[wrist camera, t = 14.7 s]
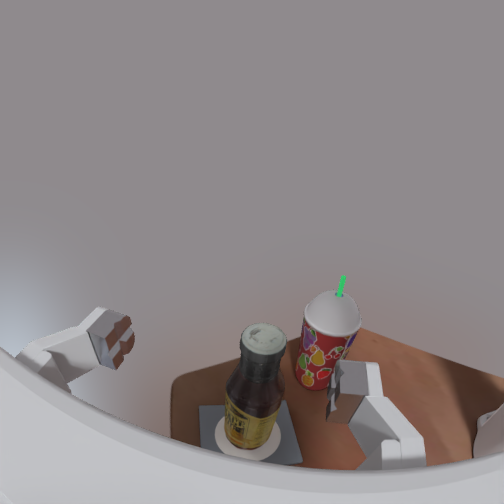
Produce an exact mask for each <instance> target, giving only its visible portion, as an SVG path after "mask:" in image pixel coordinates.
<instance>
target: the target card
mask: <svg viewBox="0 0 504 504" xmlns="http://www.w3.org/2000/svg"><path fill="white" fill-rule="evenodd" d="M199 420H200V441H201V448H204V449H208V450H211V451H215V452H219V453H223V454H227V455H231V456H236V457H240V458H245V459H250V460H255V461H261V462H267V463H273V464H280V465H292V464H298V463H302V462H303V459H302V456H301V452H300V449H299V445H298V442H297V438H296V435H295V431H294V428H293V424H292V421H291V417H290V414H289V410H288V407H287V403H286V400H283V401H282V402H281V406H280V409H279V412H278V415H277V417H276V420H275V423H274V426H273V429H272V432H271V435H270V437H269V439H268V440H267V442H265V443H264V444H263V445H262V446H261V447H259V448H257V449H255V450H243V449H239V448H236V447H235V446H234V445H232V444H231V443H230V442H229V440H228V439H227V437H226V434H225V430H224V421H225V405H208V406H199Z"/></svg>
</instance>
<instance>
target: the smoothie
mask: <svg viewBox="0 0 504 504" xmlns="http://www.w3.org/2000/svg"><path fill="white" fill-rule="evenodd" d="M345 279H346V276H341V280H340V284H339V288H338V290H329V291H325V292H323V293H321V294H319V295H318V296H316V297H315V298H314V299H313V300H312V301H311V302H310V303H309V304H308V305H307V306H306V307H305V310H304V319H303V326H302V333H301V339H300V345H299V352H298V358H297V364H296V370H295V372H296V376H297V378H298V381H299V383H300V384H301V385H302V386H303V387H305V388H307V389H310V390H321V389H324V388H326V387H328V385H329V380H330V378H331V375H332V374H333V373H335V365H336V362H337V360H338V359H340V360H345V358H346V356H347V354H348V352H349V350H350V347H351V345H352V343H353V341H354V339H355V337H356V335H357V332H358V330H359V328H360V326H361V322H362V318H361V316H360V312H359V309H358V306H357V304H356V302H355V300H354V299H353V298H352V297H351V296H350V295H348V294H347V293H345V292H343V287H344V283H345Z"/></svg>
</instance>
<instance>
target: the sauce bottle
mask: <svg viewBox="0 0 504 504" xmlns="http://www.w3.org/2000/svg"><path fill="white" fill-rule="evenodd" d="M286 344H287V339H286V335H285V334H284V333H283V332H282V330H281V329H280V328H278V327H276V326H274V325H271V324H268V323H256V324H253V325H250V326H248V327H247V328H246V329H245V330H244V331H243V333H242V335H241V340H240V349H241V359H240V362H239V364H238V366H237V367H236V369H235V370H234V372H233V373H232V375H231V376H230V378H229V379H228V381H227V383H226V389H225V390H226V394H225V421H224V430H225V434H226V437H227V439H228V440H229V442H230V443H231V444H232V445H234V446H235V447H236V448H239V449H243V450H255V449H257V448H259V447H261V446H262V445H263V444H264V443H265V442H267V440H268V439H269V437H270V435H271V432H272V429H273V426H274V423H275V420H276V417H277V415H278V412H279V409H280V406H281V402H282V397H283V394H284V389H285V382H284V378H283V374H282V372H281V370H280V369H279V367H280V360H281V357H282V356H283V355H284V353H285V349H286Z"/></svg>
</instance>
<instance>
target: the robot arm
mask: <svg viewBox="0 0 504 504" xmlns="http://www.w3.org/2000/svg"><path fill="white" fill-rule="evenodd" d="M131 324H132V323H131V320H130V317H128V316H127V315H124V314H121V313H118V312H114V311H112V310H108V309H106V308H103V307H97V308H96V309H95V310H94V311H93V312H92V313H91V314H90V315H89V316H88V317H87V318H85V319H84V320H83V322H82V323H81V324H79V325H78V327H71V328H69V329H66V330H63V331H60V332H57V333H54V334H52V335H48V336H45V337H43V338H40V339H37V340H34V341H31V342H30V343H29V344H28V345H27V346H26V347H25V348H24V349H23V350H22V351H21V352H20V353H19V354H18V355H17V356H16V357H15V358H14V357H13V356H12V355H10V354H9V353H8V352H6V351H5V350H4V349H2V348H1V347H0V504H504V403H503V404H502V405H501V406H500V407H499V408H498V409H497V410H495V411H492V412H490V413H487V414H484V415H482V416H481V417H480V418H478V420H477V429H478V432H477V436H476V439H475V442H474V449H473V454H474V458H472V459H468V460H463V461H458V462H453V463H447V464H441V465H434V466H427V465H426V456H425V449H424V442H423V437H422V436H421V435H420V434H419V433H418V432H417V430H416V429H415V428H414V427H413V426H412V425H411V424H410V422H409V421H408V420H407V419H406V418H405V417H404V416H403V415H402V413H401V412H400V411H399V410H398V409H397V408H396V407H395V405H394V404H393V403H392V402H391V401H390V400H389V399H388V398H387V397H383V391H382V384H381V377H380V370H379V365H378V363H373V362H360V361H350V360H340V359H338V360H337V362H336V365H335V373H333V374H332V375H331V378H330V380H329V385H328V391H327V398H328V400H329V403H328V405H327V408H326V422H334V423H344V424H348V426H349V428H350V430H351V431H352V433H353V435H354V437H355V438H356V440H357V442H358V443H359V445H360V447H361V448H362V450H363V452H364V453H365V455H366V457H367V459H366V460H365V461H364V462H363V463H362V464H361V465H360V466H359V467H358V468H357V469H356V470H329V469H315V468H304V467H295V466H287V465H280V464H273V463H267V462H261V461H255V460H250V459H245V458H240V457H236V456H231V455H227V454H223V453H219V452H215V451H211V450H208V449H204V448H200V447H197V446H193V445H190V444H187V443H184V442H181V441H177V440H174V439H171V438H169V437H165V436H163V435H160V434H157V433H154V432H152V431H149V430H147V429H144V428H142V427H139V426H137V425H134V424H132V423H129V422H127V421H125V420H122V419H120V418H118V417H116V416H113V415H111V414H109V413H107V412H105V411H103V410H101V409H98V408H97V407H95V406H93V405H91V404H88V403H87V402H85V401H83V400H81V399H79V398H77V397H76V396H74V395H72V394H71V390H70V389H69V387H68V385H67V383H68V382H70V381H72V380H74V379H76V378H78V377H80V376H81V375H83V374H85V373H87V372H89V371H90V370H92V369H94V368H96V367H98V366H99V365H103V366H106V367H109V368H111V369H114V370H117V369H118V367H119V366H120V364H121V363H122V362H123V360H124V356H123V355H125V354H128V353H129V352H130V351H131V349H132V348H133V345H134V340H135V338H134V337H135V336H134V332H133V331H132V329H131V328H130V325H131Z"/></svg>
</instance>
